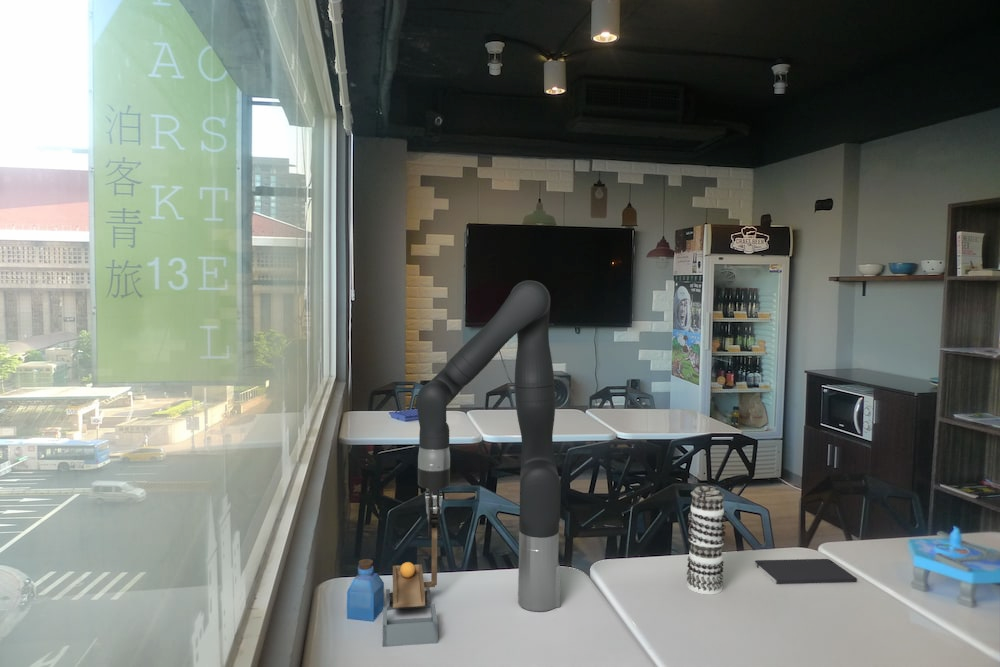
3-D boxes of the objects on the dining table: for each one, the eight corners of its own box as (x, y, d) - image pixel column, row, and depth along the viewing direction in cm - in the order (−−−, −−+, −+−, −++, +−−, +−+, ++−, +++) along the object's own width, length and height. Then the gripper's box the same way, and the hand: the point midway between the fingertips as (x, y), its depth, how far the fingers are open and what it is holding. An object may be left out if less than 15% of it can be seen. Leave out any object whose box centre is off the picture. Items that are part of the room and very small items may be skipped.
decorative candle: (731, 593, 167) (735, 492, 165) (697, 597, 164) (701, 494, 163) (711, 578, 176) (714, 482, 174) (678, 581, 173) (681, 484, 172)
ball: (414, 573, 167) (414, 559, 166) (415, 580, 163) (415, 565, 163) (399, 574, 166) (399, 560, 166) (400, 580, 163) (400, 566, 162)
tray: (434, 620, 151) (434, 602, 151) (437, 642, 142) (437, 624, 141) (383, 623, 149) (383, 606, 149) (382, 646, 140) (382, 627, 140)
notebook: (776, 586, 172) (856, 584, 174) (776, 580, 172) (857, 578, 174) (753, 565, 185) (828, 564, 187) (753, 560, 185) (828, 558, 187)
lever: (434, 574, 168) (434, 517, 168) (439, 604, 151) (439, 541, 151) (392, 577, 167) (392, 519, 166) (392, 607, 150) (393, 543, 149)
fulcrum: (429, 597, 162) (429, 584, 162) (430, 607, 157) (430, 593, 157) (386, 600, 161) (386, 586, 160) (386, 610, 156) (386, 596, 156)
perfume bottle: (373, 621, 150) (373, 568, 149) (347, 618, 152) (346, 565, 151) (383, 609, 156) (383, 557, 156) (358, 606, 158) (358, 555, 157)
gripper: (452, 472, 155) (451, 547, 156) (447, 457, 168) (446, 526, 169) (419, 473, 154) (418, 548, 155) (417, 458, 167) (416, 527, 168)
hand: (433, 537), depth 162 cm, fingers closed
